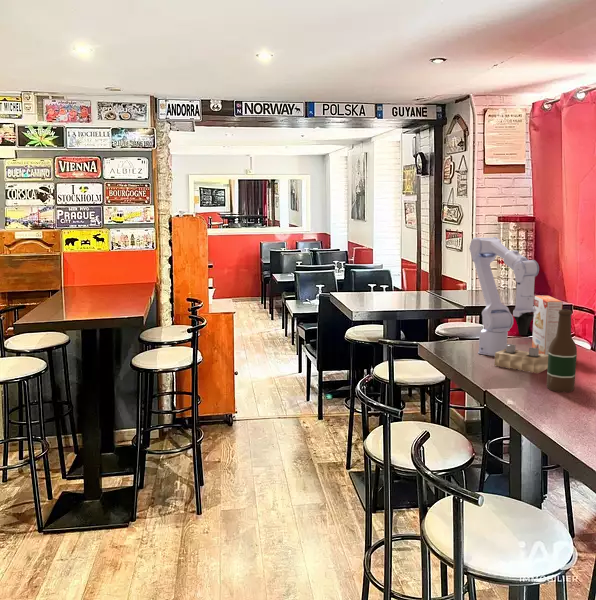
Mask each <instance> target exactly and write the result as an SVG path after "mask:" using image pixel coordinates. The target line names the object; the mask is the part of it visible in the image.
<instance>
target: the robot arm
mask: <svg viewBox="0 0 596 600" xmlns="http://www.w3.org/2000/svg"><path fill="white" fill-rule="evenodd" d="M469 252H470V255H471V259H472V262H473V263H474V268H475V271H476V276H477V277H478V281H479V285H480V289H481V293H482V295H483V299H484V303H485V308H483V309H482V311H481V316H482V318H481V319H482V320H481V321H482V326H483V327H484V328H482V329H481V330H480V334H479V335H478V336H479V337H478V352H477V354H480V355H485V356H486V355H487V356H491V357H495V353H496V352H499V351H501V350H504V349H506V345H507V344H508V333H509V331H510V329H511V328H513V325H514V320H515V322H516V326H517V330H518V335H519V336H527V335H528V331H529V328H530V325H531V322H532V321H533V317H534V312H535V311H536V310H537V309H535V306H534V297H535V280H536V277H537V276H538V274H539V271H540V266H539V263H538V262H537V261H536V260H535V259H528V258H527V257H526V256H523V255H522V254H520V253H519V251H518V250H514V249H513V250H510V249H509V248H507V247H506V246H505V245H504V244H503V243H502V240H501V239H500V238H499V237H497V236H494V237H473V238H472V239H471V241H470V244H469ZM496 257H500V259H501V258H502V259H503V263H504V265H506V266H507V267H508V268H510V269H511V270H512V271H513V274H514V280H515V282H516V286H515V287H516V289H515V290H516V291H515V292H516V293H515V307H514V309H513V311H512V313H511V311H510V308H509V307H508V306H506V305H505V304H503V303H502V302H501V298H500V295H499V291H498V288H497V284H496V281H495V277H494V274H493V271H492V268H491V263H493V262H494V261H495V260H496Z"/></svg>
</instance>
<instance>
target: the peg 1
mask: <svg viewBox="0 0 596 600" xmlns="http://www.w3.org/2000/svg"><path fill="white" fill-rule="evenodd" d="M515 350H516V344H513V343H512V344H511V343H509V344H508V343H507V345H506V353H510V354H515Z"/></svg>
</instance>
